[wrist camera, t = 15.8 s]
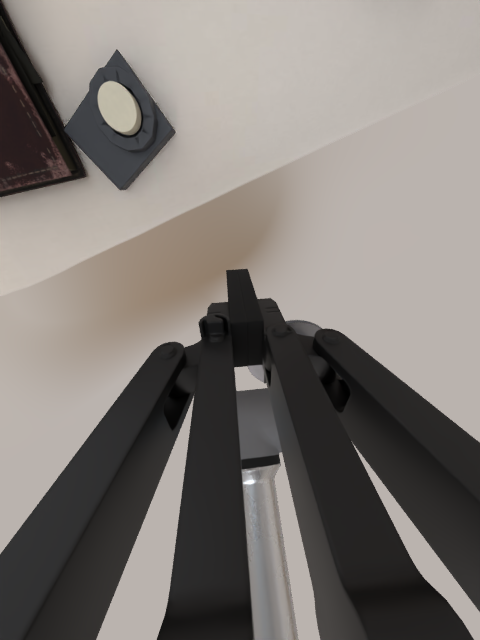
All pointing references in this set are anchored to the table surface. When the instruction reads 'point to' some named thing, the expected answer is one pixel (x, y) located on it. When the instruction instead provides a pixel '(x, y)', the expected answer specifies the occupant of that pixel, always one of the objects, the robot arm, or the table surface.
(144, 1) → the table surface
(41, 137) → the diary
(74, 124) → the switch box
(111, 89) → the power button
